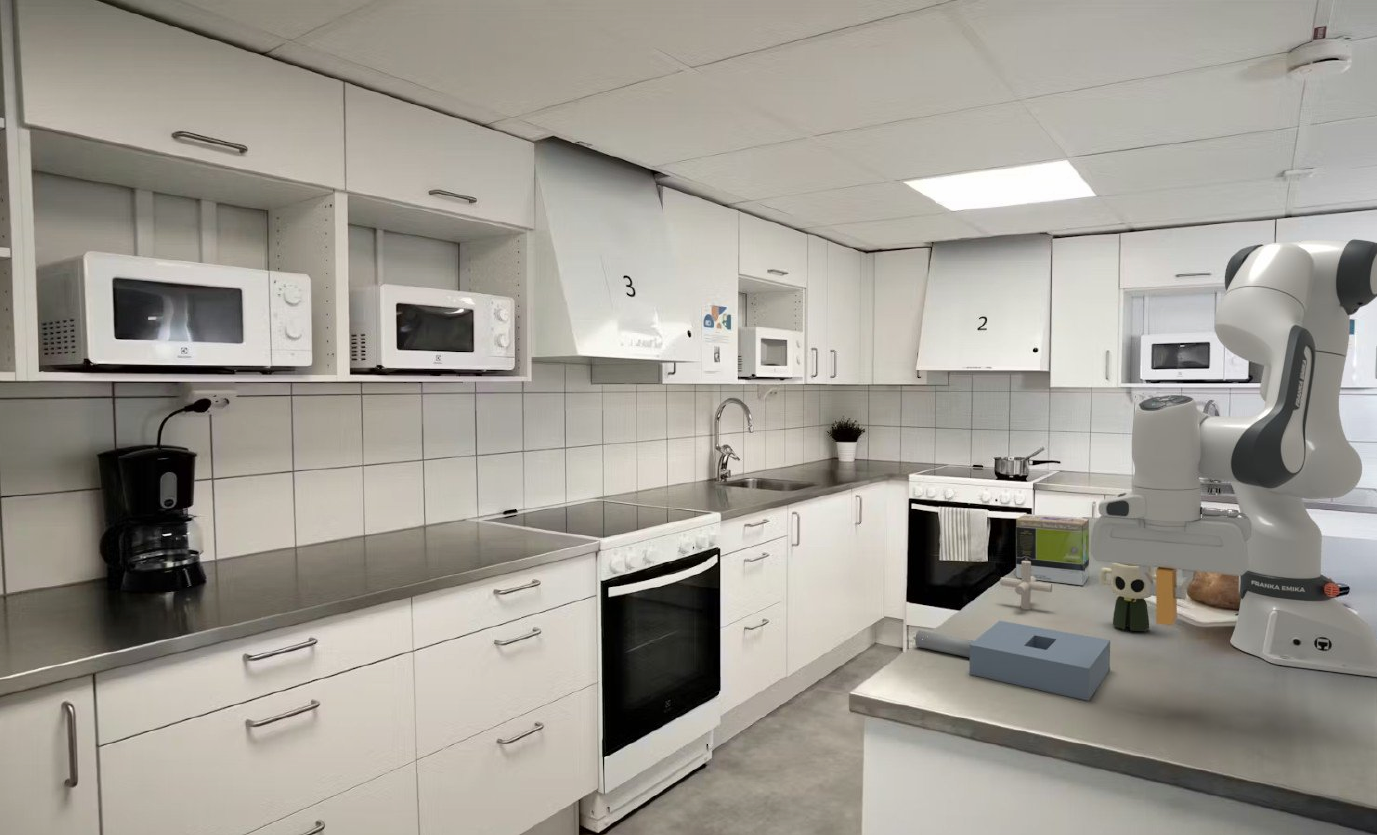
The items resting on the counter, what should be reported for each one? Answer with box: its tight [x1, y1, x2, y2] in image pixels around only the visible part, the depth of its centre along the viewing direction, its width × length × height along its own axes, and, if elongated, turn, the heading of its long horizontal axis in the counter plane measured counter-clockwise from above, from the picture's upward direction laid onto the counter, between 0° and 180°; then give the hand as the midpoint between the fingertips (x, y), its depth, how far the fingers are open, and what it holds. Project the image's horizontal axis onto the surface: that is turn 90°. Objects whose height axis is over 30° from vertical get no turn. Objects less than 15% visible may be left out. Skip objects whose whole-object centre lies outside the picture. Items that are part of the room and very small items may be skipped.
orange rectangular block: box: [1155, 567, 1178, 626], centre depth 119 cm, size 5×2×8 cm, turn 142°
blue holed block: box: [914, 620, 1111, 701], centre depth 136 cm, size 30×16×5 cm, turn 52°
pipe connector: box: [999, 561, 1053, 611], centre depth 167 cm, size 10×10×10 cm
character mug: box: [1100, 562, 1156, 632], centre depth 153 cm, size 11×7×13 cm, turn 50°
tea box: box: [1015, 513, 1090, 586], centre depth 192 cm, size 15×10×15 cm, turn 56°
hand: (1166, 596), depth 119 cm, fingers closed on orange rectangular block, 2 cm apart
